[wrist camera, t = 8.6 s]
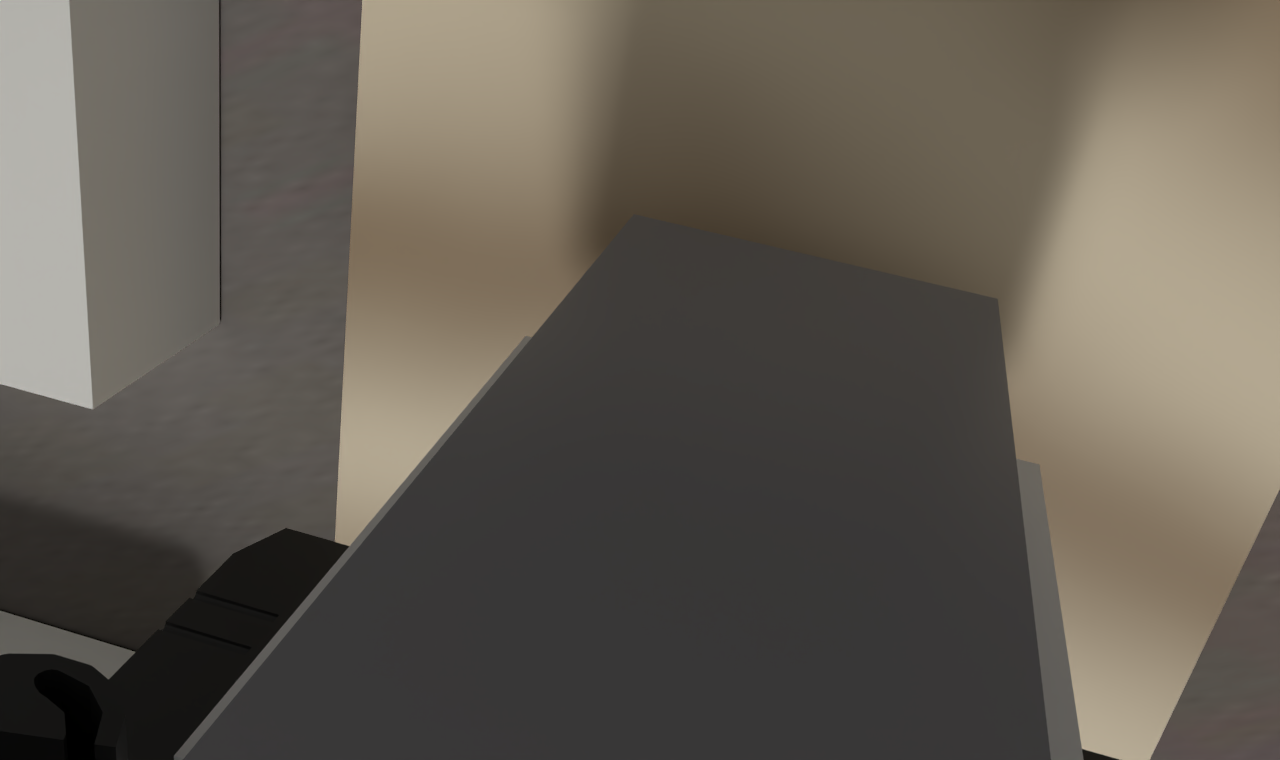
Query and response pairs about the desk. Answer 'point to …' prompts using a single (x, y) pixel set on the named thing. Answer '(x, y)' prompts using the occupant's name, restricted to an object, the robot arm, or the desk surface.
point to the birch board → (871, 242)
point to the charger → (692, 538)
